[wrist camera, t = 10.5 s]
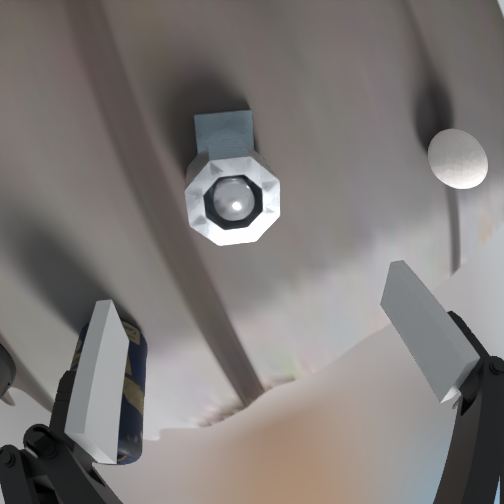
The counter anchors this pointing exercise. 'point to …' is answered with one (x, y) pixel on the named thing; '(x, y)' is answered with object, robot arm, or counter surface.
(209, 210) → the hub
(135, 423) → the canister
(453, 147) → the egg
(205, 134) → the shaft stand
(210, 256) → the counter surface
